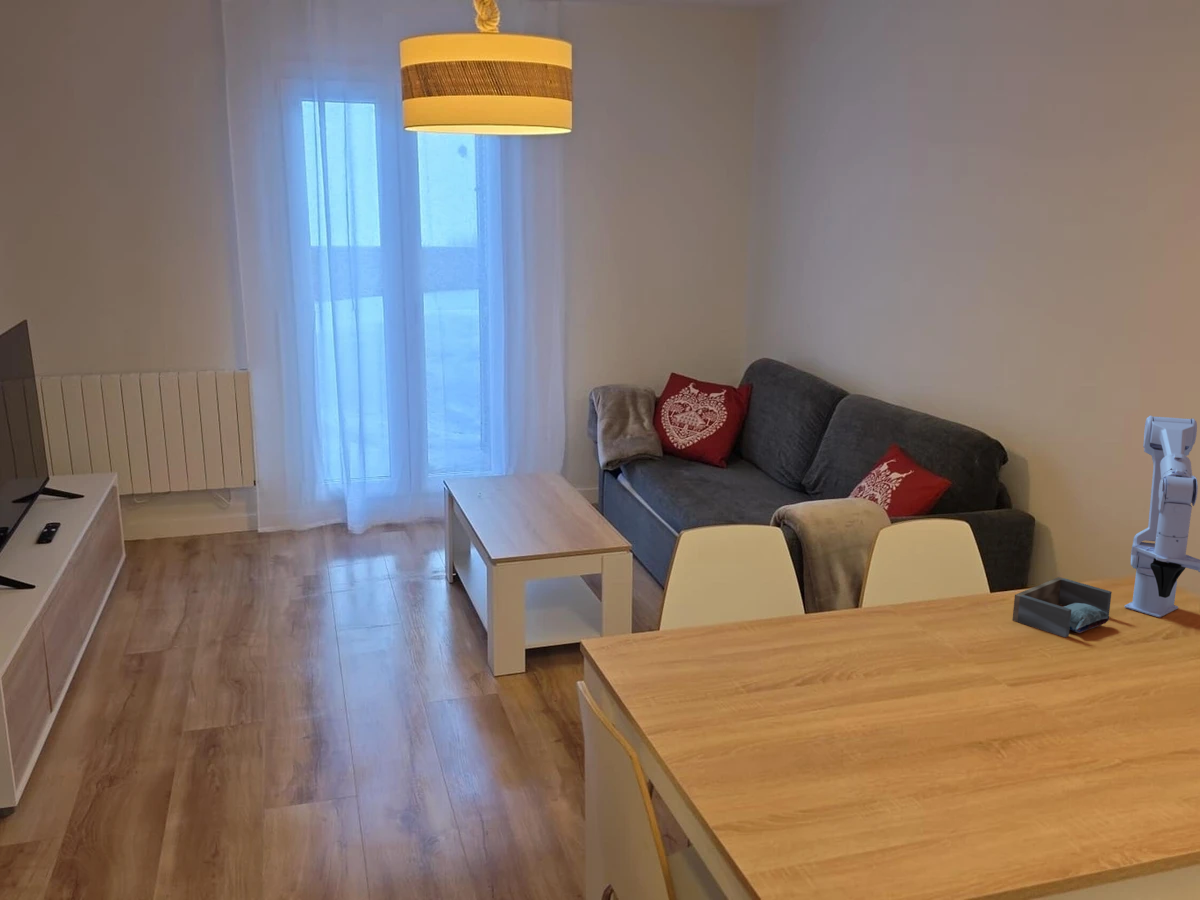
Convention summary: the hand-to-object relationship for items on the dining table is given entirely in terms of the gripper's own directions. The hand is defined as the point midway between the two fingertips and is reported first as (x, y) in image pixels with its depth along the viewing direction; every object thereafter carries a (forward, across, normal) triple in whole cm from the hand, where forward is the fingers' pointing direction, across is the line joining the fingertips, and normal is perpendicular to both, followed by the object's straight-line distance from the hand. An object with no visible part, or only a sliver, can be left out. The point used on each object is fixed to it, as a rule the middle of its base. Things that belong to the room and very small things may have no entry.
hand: (1164, 596), depth 217 cm
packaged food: (+11, -15, -5) cm, 19 cm away
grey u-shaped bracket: (+10, -19, -4) cm, 22 cm away
